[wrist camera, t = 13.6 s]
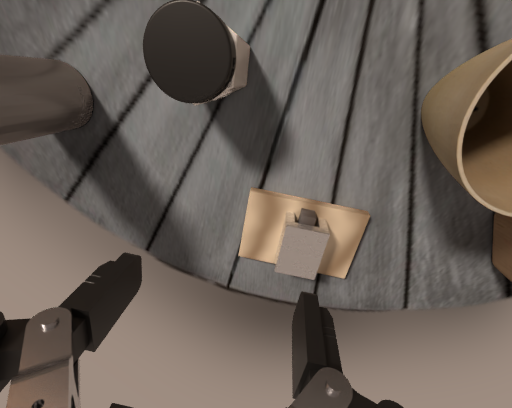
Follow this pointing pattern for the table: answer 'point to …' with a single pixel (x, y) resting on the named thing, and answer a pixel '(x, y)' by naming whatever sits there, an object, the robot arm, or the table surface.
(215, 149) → the table surface
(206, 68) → the jar
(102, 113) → the table surface
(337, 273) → the stand
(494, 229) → the wooden block
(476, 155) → the plant pot
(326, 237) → the notched grey block
